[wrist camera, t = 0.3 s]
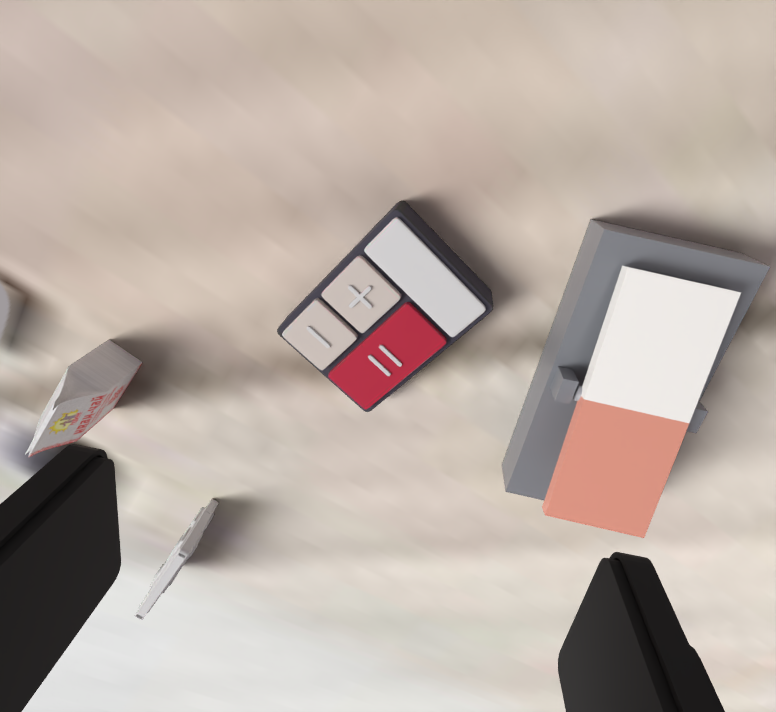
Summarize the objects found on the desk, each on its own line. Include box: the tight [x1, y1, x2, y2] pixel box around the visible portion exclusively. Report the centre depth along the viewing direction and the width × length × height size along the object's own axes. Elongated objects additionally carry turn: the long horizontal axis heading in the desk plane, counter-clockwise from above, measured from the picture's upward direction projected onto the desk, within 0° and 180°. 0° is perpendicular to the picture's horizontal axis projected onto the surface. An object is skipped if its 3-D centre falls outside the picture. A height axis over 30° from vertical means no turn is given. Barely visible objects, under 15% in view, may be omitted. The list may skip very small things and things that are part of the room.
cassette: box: [135, 499, 219, 620], centre depth 56 cm, size 12×2×8 cm, turn 146°
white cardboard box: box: [25, 340, 143, 457], centre depth 48 cm, size 4×7×10 cm, turn 142°
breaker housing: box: [502, 219, 770, 500], centre depth 44 cm, size 24×12×6 cm, turn 168°
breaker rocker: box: [542, 266, 741, 538], centre depth 41 cm, size 20×8×2 cm, turn 168°
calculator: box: [277, 201, 493, 412], centre depth 45 cm, size 11×4×15 cm
